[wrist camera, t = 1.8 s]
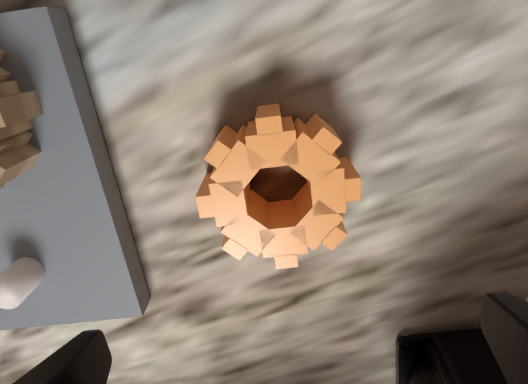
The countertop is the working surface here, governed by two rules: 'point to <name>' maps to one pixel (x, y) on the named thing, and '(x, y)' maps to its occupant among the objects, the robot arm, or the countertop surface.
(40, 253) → the gear board
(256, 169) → the orange gear
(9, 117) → the birch gear
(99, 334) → the robot arm
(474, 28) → the countertop surface
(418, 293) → the countertop surface
